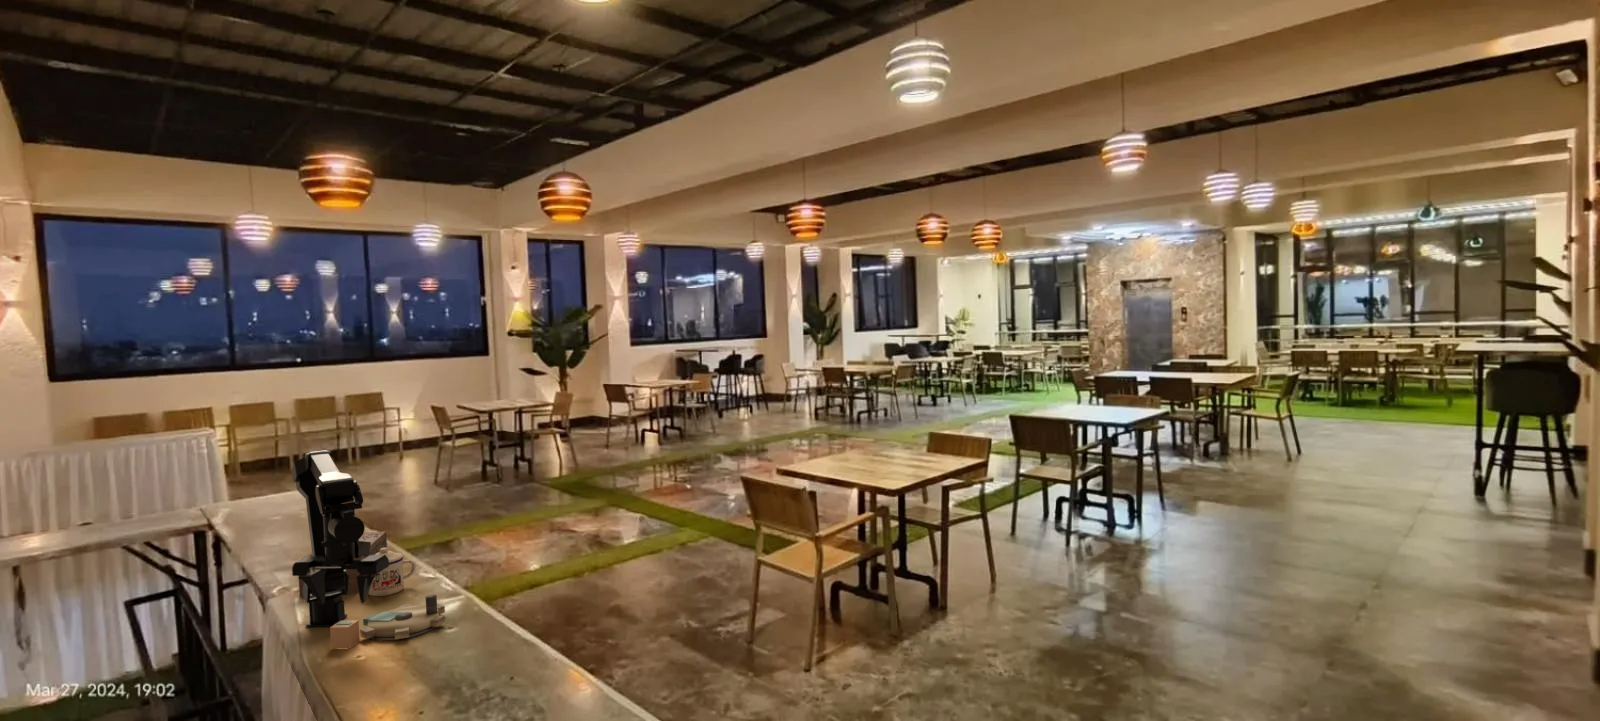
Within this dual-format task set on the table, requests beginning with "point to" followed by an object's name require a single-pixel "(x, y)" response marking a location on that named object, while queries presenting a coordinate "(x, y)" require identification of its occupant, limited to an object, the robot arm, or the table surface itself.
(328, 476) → the robot arm
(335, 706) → the table surface
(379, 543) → the tissue box cover
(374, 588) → the teacup with lid
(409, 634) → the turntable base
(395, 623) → the sprocket disc
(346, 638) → the link block
